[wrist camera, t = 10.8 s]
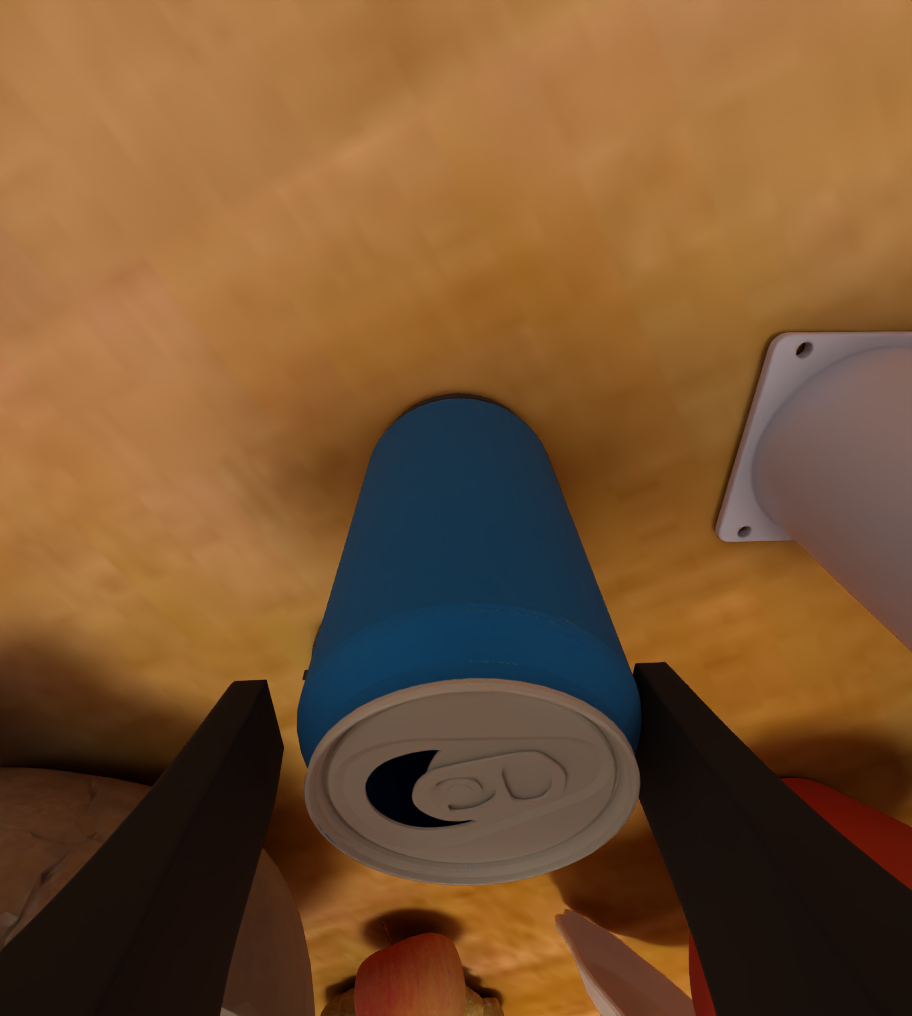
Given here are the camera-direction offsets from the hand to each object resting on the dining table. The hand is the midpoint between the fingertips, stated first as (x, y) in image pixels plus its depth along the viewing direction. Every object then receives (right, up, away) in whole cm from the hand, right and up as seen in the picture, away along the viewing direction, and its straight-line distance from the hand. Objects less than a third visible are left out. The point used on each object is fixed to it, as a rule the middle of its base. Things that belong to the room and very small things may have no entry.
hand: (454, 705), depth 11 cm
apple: (-2, -31, +22) cm, 38 cm away
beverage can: (0, +5, +9) cm, 10 cm away
